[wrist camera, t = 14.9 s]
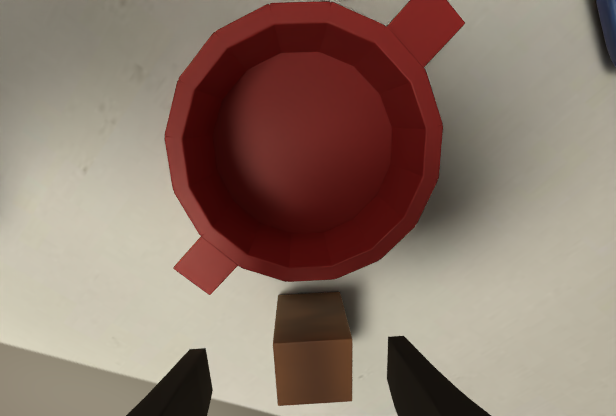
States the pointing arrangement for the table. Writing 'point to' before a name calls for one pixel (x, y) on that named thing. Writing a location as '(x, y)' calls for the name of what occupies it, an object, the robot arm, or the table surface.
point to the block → (312, 349)
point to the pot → (306, 139)
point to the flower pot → (608, 25)
